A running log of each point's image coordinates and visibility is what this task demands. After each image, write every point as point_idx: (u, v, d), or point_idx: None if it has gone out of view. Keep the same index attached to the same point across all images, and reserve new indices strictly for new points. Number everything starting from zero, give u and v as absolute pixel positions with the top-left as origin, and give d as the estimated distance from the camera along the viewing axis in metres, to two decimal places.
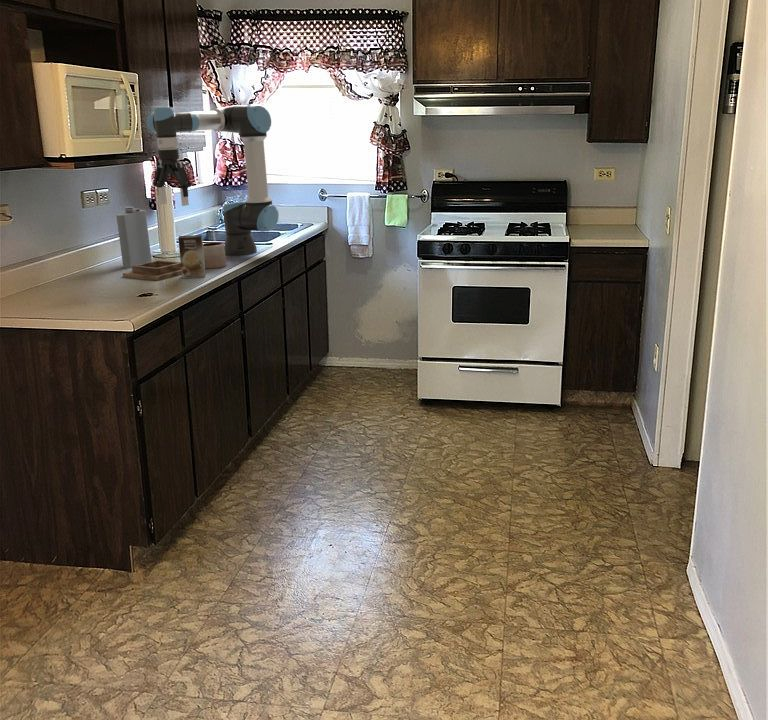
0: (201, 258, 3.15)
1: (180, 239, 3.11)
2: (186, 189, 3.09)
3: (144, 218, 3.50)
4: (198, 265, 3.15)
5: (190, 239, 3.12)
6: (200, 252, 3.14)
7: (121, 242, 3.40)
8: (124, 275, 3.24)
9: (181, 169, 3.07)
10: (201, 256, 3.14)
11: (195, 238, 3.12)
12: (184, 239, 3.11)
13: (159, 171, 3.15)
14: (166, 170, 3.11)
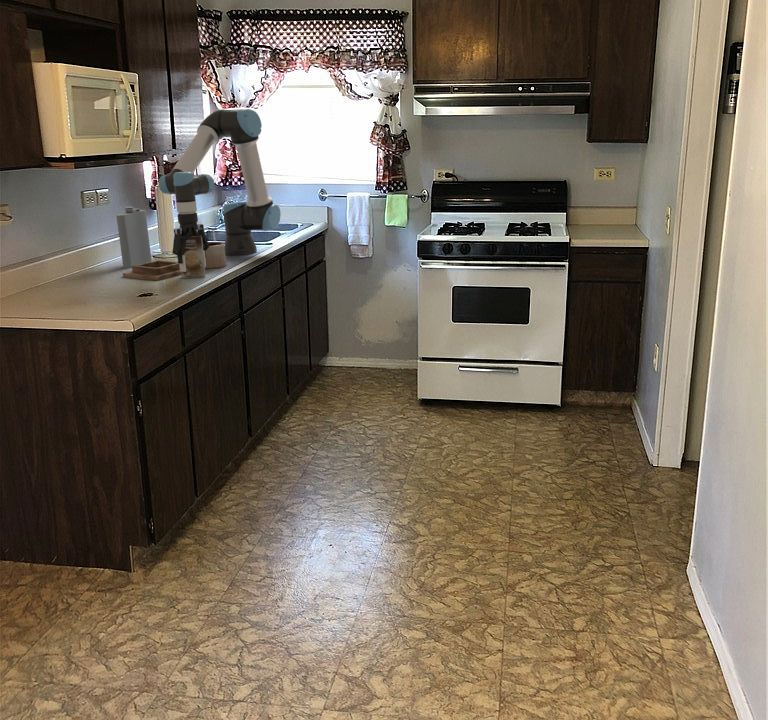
0: (201, 258, 3.15)
1: None
2: (178, 256, 3.11)
3: (144, 218, 3.50)
4: (198, 265, 3.15)
5: (190, 239, 3.12)
6: (200, 252, 3.14)
7: (121, 242, 3.40)
8: (124, 275, 3.24)
9: (175, 236, 3.09)
10: (201, 256, 3.14)
11: (195, 238, 3.12)
12: None
13: (199, 233, 3.19)
14: None
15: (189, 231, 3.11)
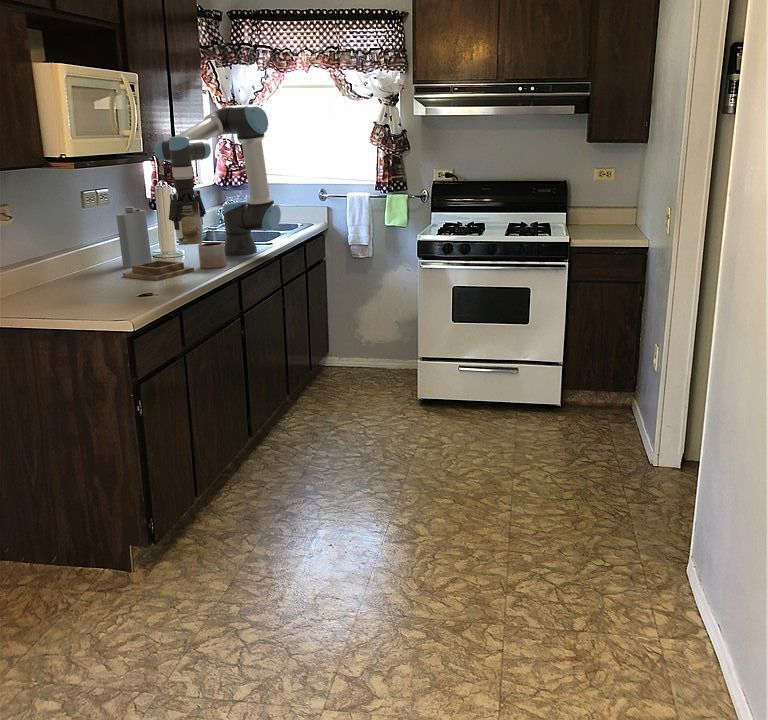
0: (198, 224, 3.11)
1: None
2: (175, 222, 3.07)
3: (144, 218, 3.50)
4: (194, 232, 3.11)
5: (186, 205, 3.08)
6: (197, 218, 3.10)
7: (121, 242, 3.40)
8: (124, 275, 3.24)
9: (171, 202, 3.05)
10: (198, 223, 3.11)
11: (191, 204, 3.08)
12: None
13: (196, 199, 3.15)
14: None
15: (185, 197, 3.08)
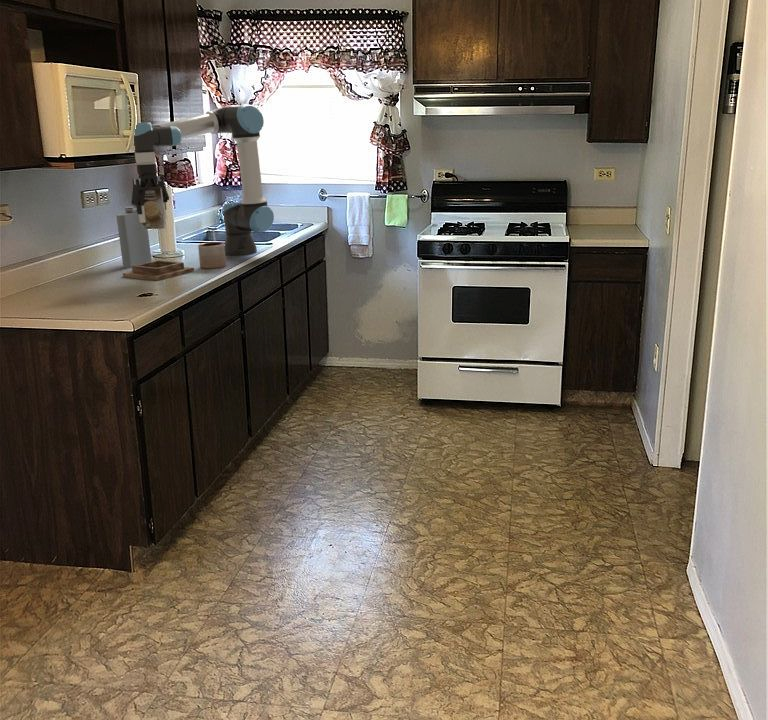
0: (160, 209, 3.17)
1: (139, 190, 3.13)
2: (137, 207, 3.13)
3: None
4: (157, 216, 3.17)
5: (149, 190, 3.14)
6: (159, 203, 3.16)
7: (121, 242, 3.40)
8: (124, 275, 3.24)
9: (134, 186, 3.11)
10: (161, 207, 3.16)
11: (154, 189, 3.14)
12: None
13: (159, 185, 3.21)
14: None
15: (148, 182, 3.13)
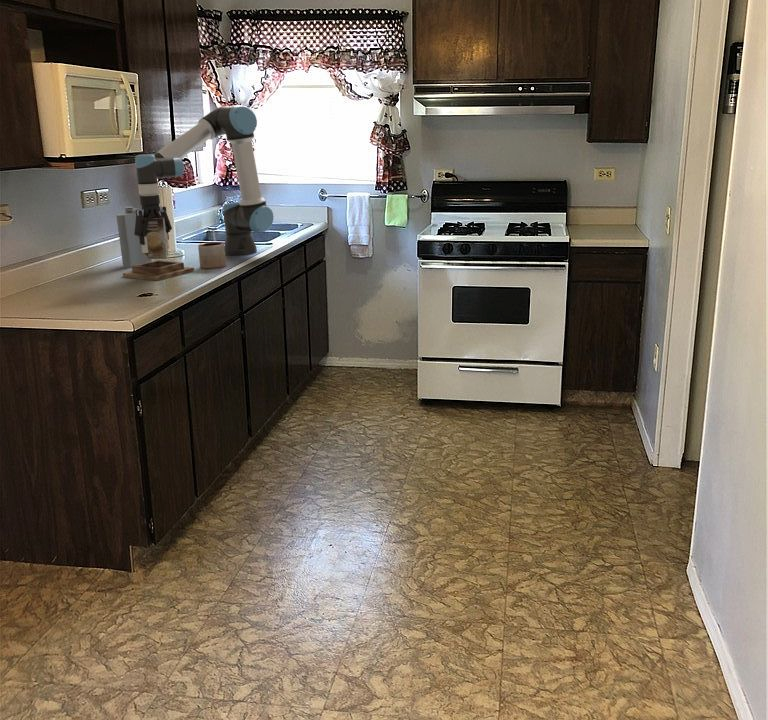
0: (163, 239, 3.20)
1: (142, 220, 3.17)
2: (140, 237, 3.17)
3: None
4: (160, 247, 3.21)
5: (152, 221, 3.18)
6: (162, 233, 3.20)
7: (121, 242, 3.40)
8: (124, 275, 3.24)
9: (137, 217, 3.15)
10: (163, 238, 3.20)
11: (157, 220, 3.18)
12: None
13: (162, 215, 3.25)
14: None
15: (151, 213, 3.17)
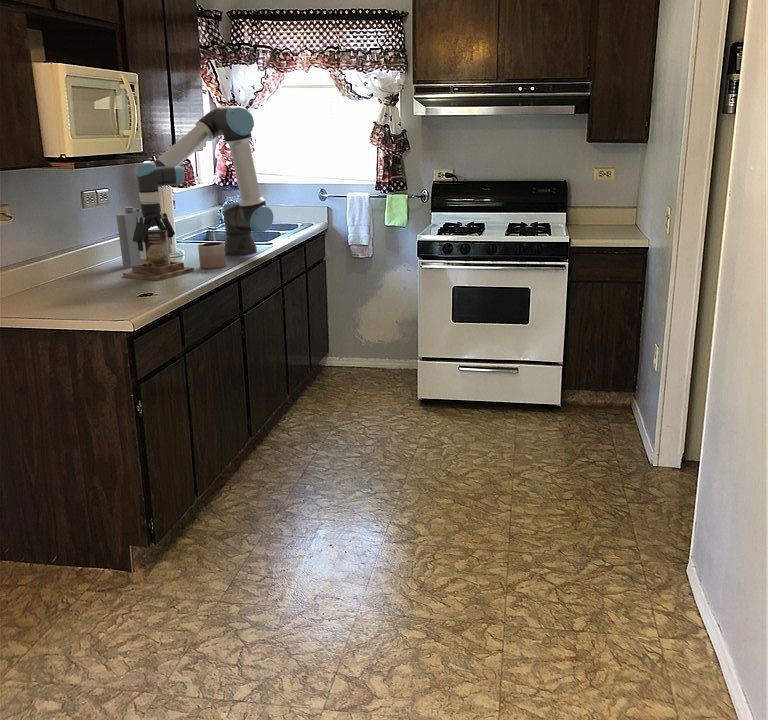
0: (165, 252, 3.22)
1: None
2: (138, 244, 3.16)
3: None
4: (162, 259, 3.23)
5: (154, 233, 3.19)
6: (164, 246, 3.21)
7: (121, 242, 3.40)
8: (124, 275, 3.24)
9: (137, 224, 3.15)
10: (166, 250, 3.22)
11: (159, 232, 3.20)
12: (148, 233, 3.19)
13: (164, 222, 3.26)
14: None
15: (152, 221, 3.18)
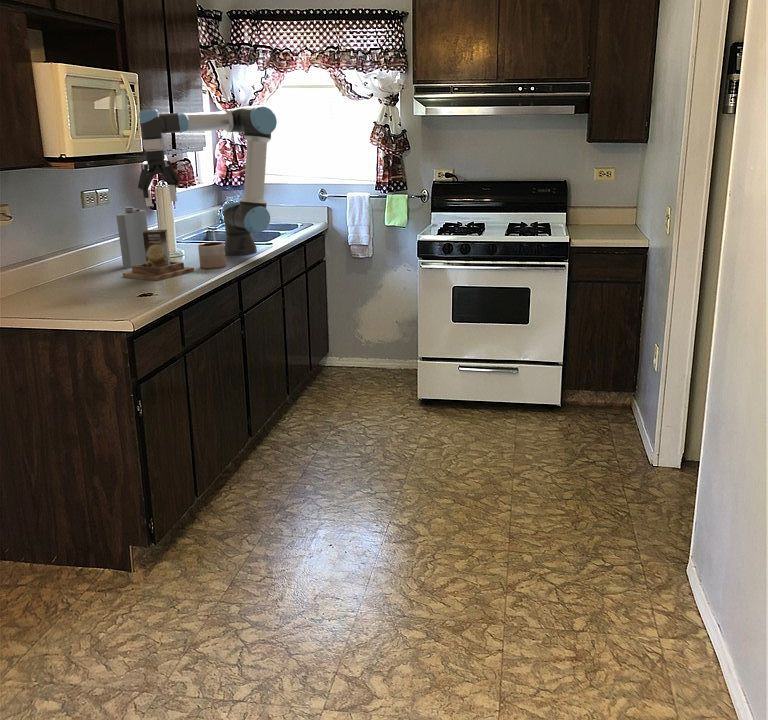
0: (165, 252, 3.22)
1: (145, 233, 3.19)
2: (144, 191, 3.19)
3: (144, 218, 3.50)
4: (162, 259, 3.23)
5: (154, 233, 3.19)
6: (164, 246, 3.21)
7: (121, 242, 3.40)
8: (124, 275, 3.24)
9: (142, 171, 3.18)
10: (166, 250, 3.22)
11: (159, 232, 3.20)
12: (148, 233, 3.19)
13: (168, 170, 3.29)
14: None
15: (156, 168, 3.21)
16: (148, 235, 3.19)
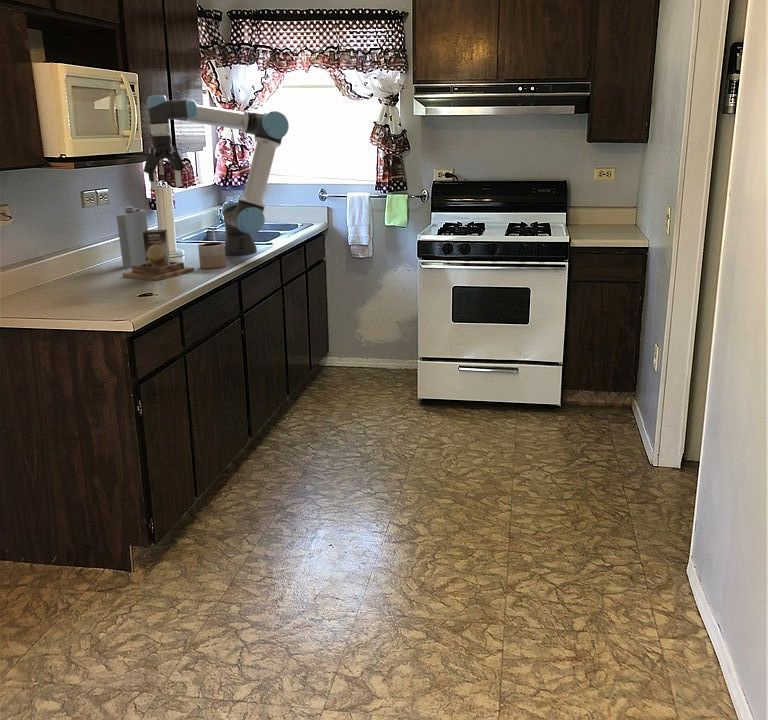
0: (165, 252, 3.22)
1: (145, 233, 3.19)
2: (149, 174, 3.25)
3: (144, 218, 3.50)
4: (162, 259, 3.23)
5: (154, 233, 3.19)
6: (164, 246, 3.21)
7: (121, 242, 3.40)
8: (124, 275, 3.24)
9: (148, 155, 3.24)
10: (166, 250, 3.22)
11: (159, 232, 3.20)
12: (148, 233, 3.19)
13: (174, 155, 3.35)
14: None
15: (162, 152, 3.27)
16: (148, 235, 3.19)
